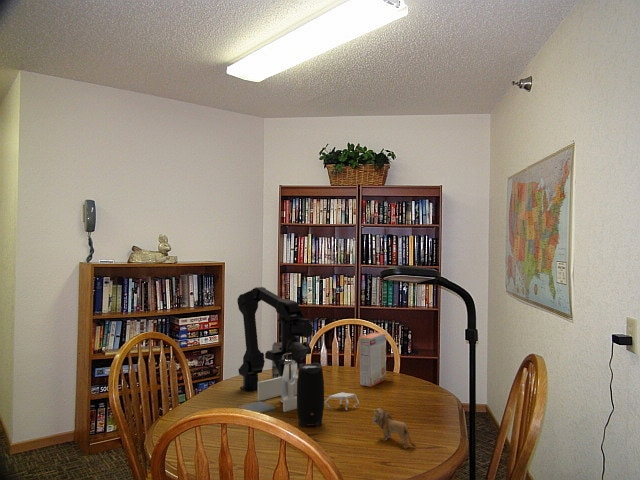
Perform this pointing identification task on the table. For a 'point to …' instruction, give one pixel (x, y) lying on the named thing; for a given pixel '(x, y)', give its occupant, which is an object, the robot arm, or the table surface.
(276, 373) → the coffee box
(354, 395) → the white legged piece
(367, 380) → the cracker box
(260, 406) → the slate mat
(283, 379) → the beer glass
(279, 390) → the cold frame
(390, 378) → the table surface
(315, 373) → the portable speaker
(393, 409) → the table surface
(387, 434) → the lion figurine
